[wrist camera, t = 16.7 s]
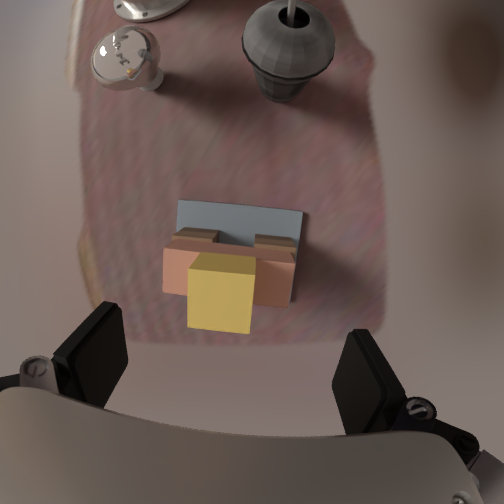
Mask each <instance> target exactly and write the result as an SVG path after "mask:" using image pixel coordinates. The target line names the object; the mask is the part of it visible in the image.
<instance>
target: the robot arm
mask: <svg viewBox="0 0 504 504" xmlns="http://www.w3.org/2000/svg"><path fill="white" fill-rule="evenodd" d="M189 1H190V0H114V9H115V11H116V13H117V14H118V15H119V16H120V17H121V18H122V19H124V20H126V21H130V22H148V21H152V20H157V19H159V18H162V17H165V16H167V15H169V14H171V13H173V12H175V11H177V10H178V9H180V8H181V7H183V6H184V5H185V4H186V3H188V2H189ZM53 355H54V357H53V358H52V359H51V360H50V359H49V358H47V357H45V356H41V355H40V356H32V357H29V358H27V359H26V360H25V361H23V362H22V364H21V365H20V370H19V372H20V374H15V375H10V376H5V377H0V504H504V463H502V462H501V461H500V460H498V459H497V458H495V457H494V456H493V455H491V454H490V453H488V452H487V451H486V450H482V451H479V442H478V440H477V439H476V437H475V436H474V435H473V434H471V433H469V432H466V431H464V430H461V429H459V428H457V427H454V426H451V425H449V424H447V423H445V422H442V421H440V420H438V419H436V416H437V411H436V408H435V406H434V405H433V404H432V403H431V402H430V401H429V400H427V399H425V398H422V397H410V398H407V397H406V395H405V390H404V388H403V387H402V385H401V383H400V382H399V380H398V378H397V377H396V375H395V373H394V371H393V370H392V368H391V366H390V365H389V363H388V361H387V360H386V358H385V357H384V355H383V353H382V352H381V350H380V348H379V347H378V345H377V344H376V342H375V340H374V339H373V337H372V336H371V334H370V332H369V331H368V330H367V329H353V331H352V332H349V333H348V335H347V339H346V342H345V345H344V348H343V351H342V354H341V357H340V360H339V364H338V366H337V369H336V372H335V375H334V378H333V381H332V390H333V393H334V396H335V399H336V403H337V406H338V409H339V413H340V416H341V419H342V422H343V426H344V429H345V433H346V435H338V436H337V435H335V436H314V437H313V436H311V437H280V436H255V435H242V434H231V433H221V432H212V431H205V430H198V429H192V428H185V427H180V426H174V425H169V424H164V423H159V422H154V421H150V420H145V419H141V418H137V417H133V416H129V415H125V414H122V413H118V412H115V411H111V410H108V409H104V406H105V404H106V403H107V401H108V399H109V397H110V395H111V394H112V392H113V390H114V388H115V386H116V384H117V383H118V381H119V379H120V377H121V376H122V374H123V372H124V370H125V369H126V367H127V364H128V354H127V348H126V341H125V334H124V326H123V318H122V310H121V308H120V307H118V305H117V304H116V303H112V302H107V301H104V302H102V303H101V304H100V305H99V306H98V307H97V308H96V309H95V310H94V311H93V312H92V313H91V314H90V315H89V316H88V317H87V318H86V319H85V320H84V321H83V322H82V323H81V325H80V326H79V327H78V328H77V329H76V330H75V331H74V332H73V333H72V334H71V335H70V336H69V337H68V338H67V339H66V340H65V341H64V342H63V343H62V345H61V346H60V347H59V348H58V349H57V350H56V351H55V352H54V353H53Z"/></svg>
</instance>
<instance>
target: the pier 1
mask: <svg viewBox="0 0 504 504" xmlns="http://www.w3.org/2000/svg"><path fill="white" fill-rule="evenodd" d="M176 238H179V239H188V240H196V241H205V242H213V243H219V230H214V229H203V228H193V227H184V228H182V229H181V230H179V231H178V232H176V233H175V234H173V235H172V241H174V240H175V239H176Z"/></svg>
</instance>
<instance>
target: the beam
mask: <svg viewBox="0 0 504 504" xmlns="http://www.w3.org/2000/svg"><path fill="white" fill-rule="evenodd" d="M200 252H207V253H218V254H229V255H240V256H250V257H256V268H255V282H254V293H253V303H252V304H255V305H264V306H273V307H283V308H288V304H289V298H290V292H291V287H292V281H293V275H294V269H295V262H294V259H293V257H292V255H291V252H288V251H280V250H271V249H263V248H255V247H247V246H238V245H230V244H221V243H213V242H205V241H196V240H188V239H179V238H176V239H175V240H174V241H172V242H171V243H170V244H168V245H167V246H166V247H164V254H163V292H167V293H173V294H180V295H186V296H188V268H189V267H190V265H191V264H192V263H193V261H194V260H195V259H196V258H197V256H198V255H199V254H200Z"/></svg>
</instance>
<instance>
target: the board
mask: <svg viewBox="0 0 504 504" xmlns="http://www.w3.org/2000/svg"><path fill="white" fill-rule="evenodd" d="M302 215H303V212H302V211H296V210H288V209H279V208H270V207H261V206H251V205H241V204H230V203H219V202H207V201H194V200H181V199H180V200H178V210H177V229H176V232H178V231H179V230H181V229H182V228H184V227H193V228H203V229H214V230H219V243H221V244H230V245H238V246H247V247H254V240H255V234H264V235H273V236H283V237H291V239H292V241H293V242H294V244H295V246H296V254H295V261H294V262H295V266H296V259H297V252H298V245H299V238H300V231H301V223H302ZM294 273H295V269H294ZM293 279H294V275H293ZM292 286H293V281H292ZM291 292H292V287H291ZM291 292H290V298H291ZM290 298H289V303H290Z"/></svg>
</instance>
